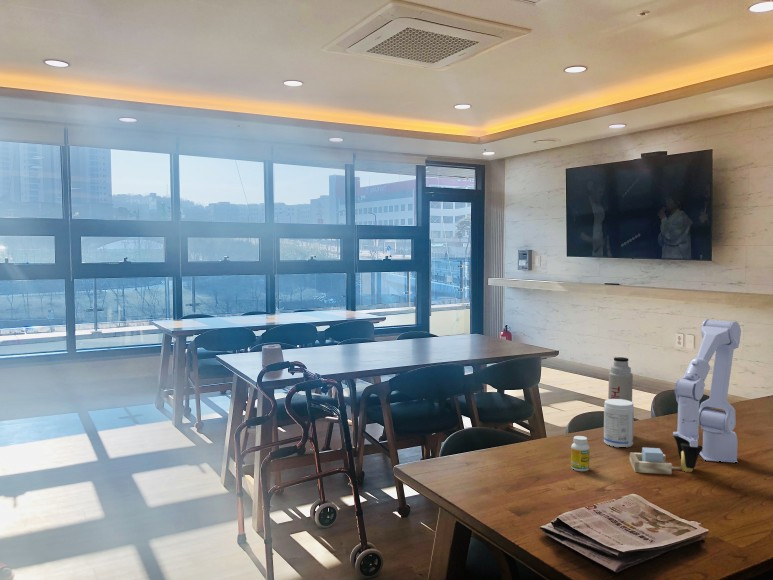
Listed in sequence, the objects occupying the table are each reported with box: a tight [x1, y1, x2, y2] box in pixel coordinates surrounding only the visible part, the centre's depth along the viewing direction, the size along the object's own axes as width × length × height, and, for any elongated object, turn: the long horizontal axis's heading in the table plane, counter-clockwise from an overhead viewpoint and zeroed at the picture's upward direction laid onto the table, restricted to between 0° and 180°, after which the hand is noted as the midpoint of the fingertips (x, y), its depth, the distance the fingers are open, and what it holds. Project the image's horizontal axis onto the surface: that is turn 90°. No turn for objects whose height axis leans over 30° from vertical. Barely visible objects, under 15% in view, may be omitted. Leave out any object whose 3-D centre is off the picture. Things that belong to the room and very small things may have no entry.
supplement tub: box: [603, 399, 635, 448], centre depth 214 cm, size 10×10×15 cm
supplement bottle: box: [570, 435, 591, 472], centre depth 190 cm, size 5×5×10 cm
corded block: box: [641, 447, 694, 473], centre depth 190 cm, size 14×5×6 cm, turn 78°
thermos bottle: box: [607, 356, 634, 402], centre depth 224 cm, size 8×8×28 cm
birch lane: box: [629, 452, 673, 475], centre depth 191 cm, size 10×9×3 cm
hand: (686, 463), depth 189 cm, fingers open, 7 cm apart
